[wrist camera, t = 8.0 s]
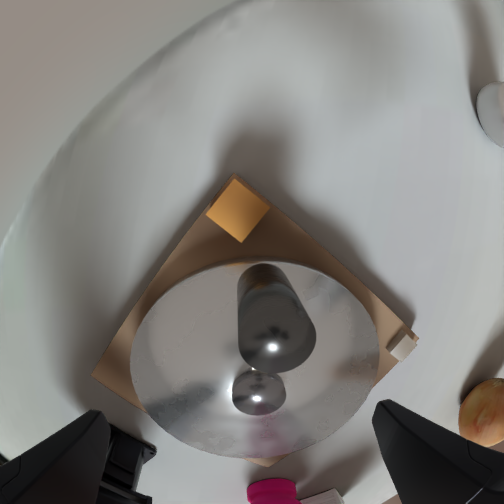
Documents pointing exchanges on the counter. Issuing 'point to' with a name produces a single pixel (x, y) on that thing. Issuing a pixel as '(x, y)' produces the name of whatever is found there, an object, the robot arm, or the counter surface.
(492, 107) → the plastic bottle
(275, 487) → the pepper mill
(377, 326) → the dial base
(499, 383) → the onion
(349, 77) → the counter surface
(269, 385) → the dial
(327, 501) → the skincare box
